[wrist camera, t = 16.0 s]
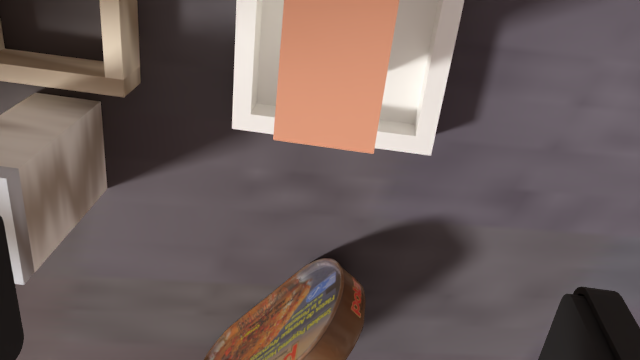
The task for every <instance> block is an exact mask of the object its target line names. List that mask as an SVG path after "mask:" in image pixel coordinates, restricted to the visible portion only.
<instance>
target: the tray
mask: <svg viewBox="0 0 640 360" xmlns="http://www.w3.org/2000/svg"><path fill="white" fill-rule="evenodd" d="M463 5H464V0H399V6H398V12H397V18H396V24H395V29H394V35H393V41H392V47H391V53H390V59H389V65H388V71H387V77H386V83H385V89H384V95H383V100H382V106H381V112H380V118H379V124H378V130H377V136H376V142H375V148H379V149H386V150H394V151H401V152H408V153H416V154H423V155H431V152H432V148H433V143H434V139H435V134H436V129H437V125H438V120H439V115H440V111H441V106H442V102H443V97H444V92H445V88H446V83H447V79H448V74H449V69H450V65H451V60H452V55H453V51H454V46H455V42H456V37H457V32H458V28H459V23H460V19H461V14H462V9H463ZM283 7H284V0H237V4H236V31H235V58H234V85H233V112H232V129H237V130H245V131H252V132H260V133H267V134H274V122H275V109H276V97H277V84H278V71H279V58H280V45H281V32H282V20H283Z"/></svg>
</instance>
